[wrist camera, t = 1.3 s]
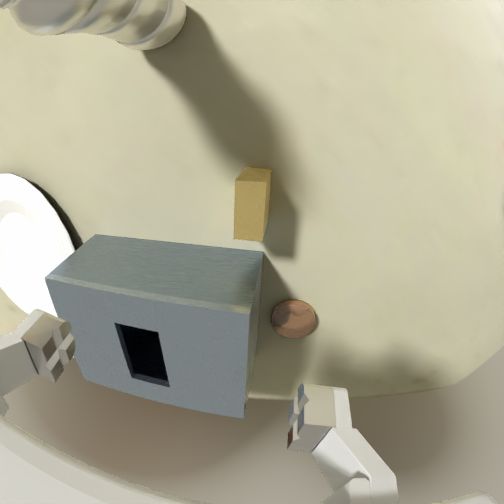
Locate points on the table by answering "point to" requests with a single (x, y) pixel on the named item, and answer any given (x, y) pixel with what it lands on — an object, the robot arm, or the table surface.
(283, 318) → the copper token
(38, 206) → the plate
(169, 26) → the plastic bottle
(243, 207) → the brushed brass bar
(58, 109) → the table surface
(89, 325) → the coin box
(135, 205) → the table surface
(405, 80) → the table surface
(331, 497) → the robot arm
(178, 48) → the table surface
